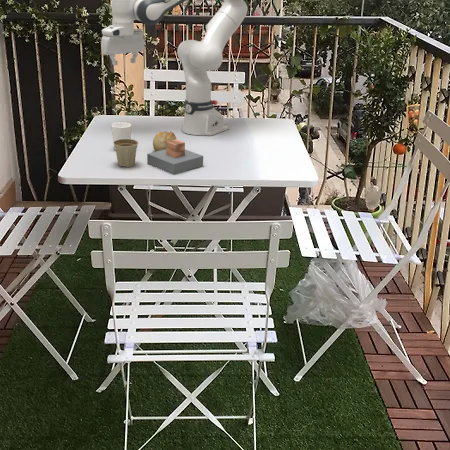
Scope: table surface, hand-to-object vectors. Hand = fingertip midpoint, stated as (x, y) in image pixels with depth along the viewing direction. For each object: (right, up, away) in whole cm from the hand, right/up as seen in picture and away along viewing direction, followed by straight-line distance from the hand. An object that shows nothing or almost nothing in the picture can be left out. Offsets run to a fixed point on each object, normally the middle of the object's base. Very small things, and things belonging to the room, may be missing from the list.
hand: (124, 63), depth 249 cm
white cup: (+1, -38, -11) cm, 39 cm away
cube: (+24, -42, -27) cm, 56 cm away
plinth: (+24, -46, -26) cm, 58 cm away
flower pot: (+6, -46, -27) cm, 54 cm away
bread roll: (+19, -39, -11) cm, 44 cm away
